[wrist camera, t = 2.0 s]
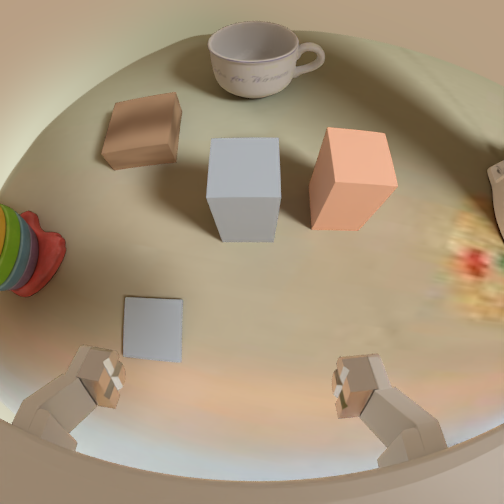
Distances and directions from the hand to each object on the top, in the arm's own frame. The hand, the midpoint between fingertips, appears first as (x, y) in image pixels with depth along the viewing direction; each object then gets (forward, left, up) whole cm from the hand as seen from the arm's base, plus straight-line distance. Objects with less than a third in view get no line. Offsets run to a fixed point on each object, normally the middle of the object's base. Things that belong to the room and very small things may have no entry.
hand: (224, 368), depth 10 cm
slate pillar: (-7, -10, -17) cm, 21 cm away
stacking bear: (+18, -22, -17) cm, 33 cm away
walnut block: (-3, -26, -17) cm, 32 cm away
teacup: (-20, -25, -17) cm, 37 cm away
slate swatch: (+7, -6, -17) cm, 19 cm away
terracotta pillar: (-15, -6, -17) cm, 24 cm away
